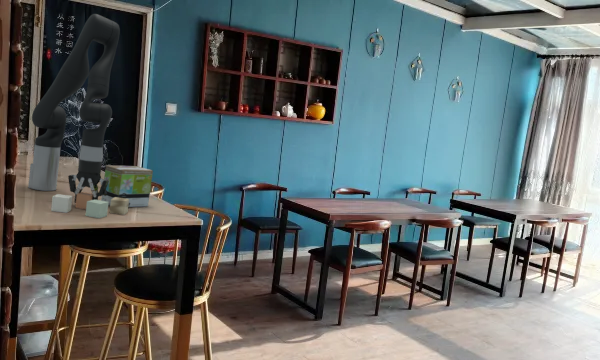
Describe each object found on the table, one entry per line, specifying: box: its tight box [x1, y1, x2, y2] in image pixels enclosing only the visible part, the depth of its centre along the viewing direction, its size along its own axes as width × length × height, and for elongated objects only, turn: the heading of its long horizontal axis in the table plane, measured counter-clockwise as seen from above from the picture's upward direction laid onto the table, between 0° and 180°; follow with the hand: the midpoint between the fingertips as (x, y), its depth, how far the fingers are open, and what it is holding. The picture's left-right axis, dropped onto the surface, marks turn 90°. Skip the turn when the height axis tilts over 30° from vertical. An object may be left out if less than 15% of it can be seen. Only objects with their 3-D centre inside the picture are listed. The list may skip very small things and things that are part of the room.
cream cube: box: [50, 193, 73, 214], centre depth 175 cm, size 5×5×5 cm
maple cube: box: [109, 197, 129, 216], centre depth 185 cm, size 5×5×5 cm
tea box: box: [100, 164, 154, 208], centre depth 199 cm, size 15×10×15 cm, turn 148°
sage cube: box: [84, 199, 109, 219], centre depth 175 cm, size 5×5×5 cm
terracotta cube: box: [74, 191, 93, 210], centre depth 185 cm, size 5×5×5 cm
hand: (85, 205), depth 185 cm, fingers closed on terracotta cube, 5 cm apart
